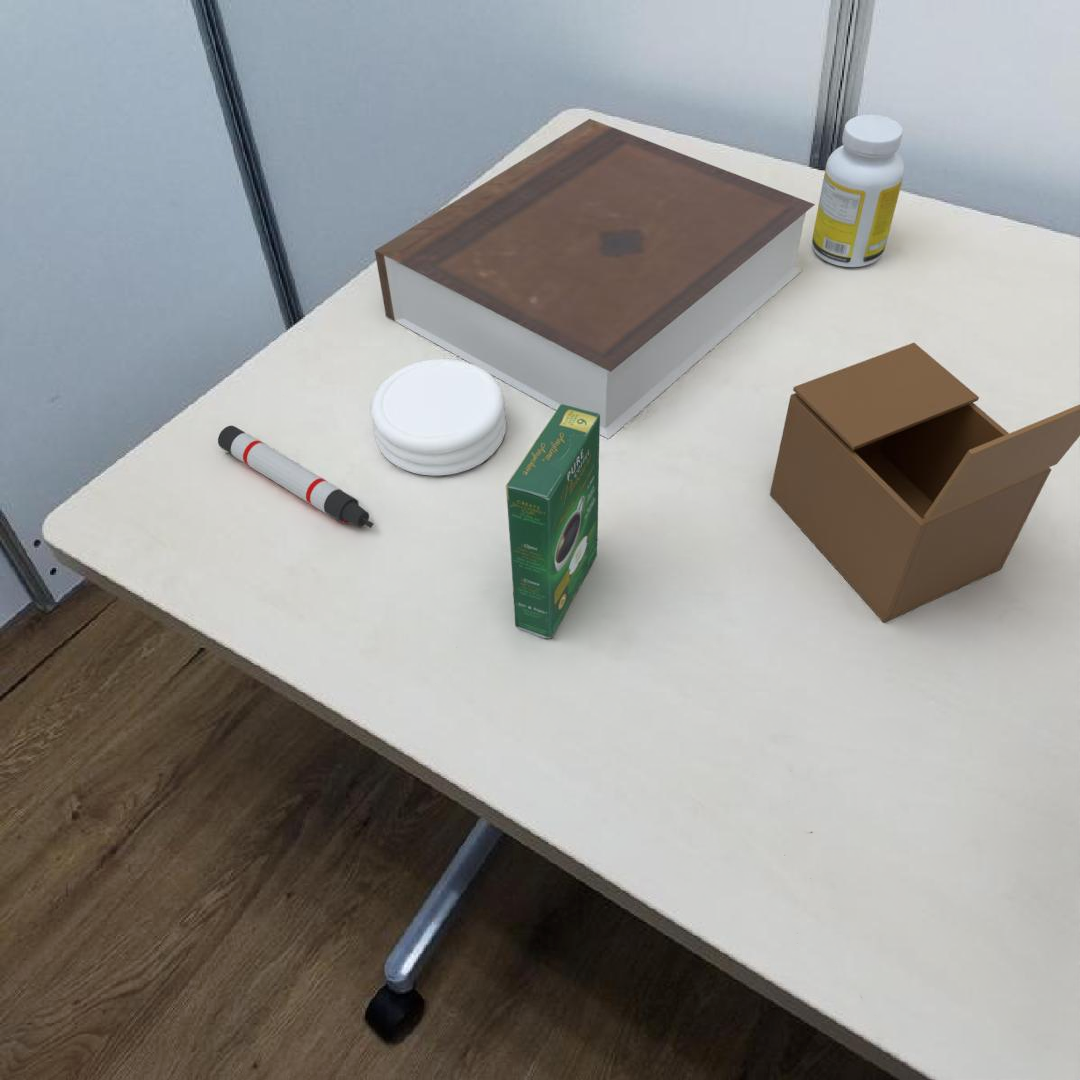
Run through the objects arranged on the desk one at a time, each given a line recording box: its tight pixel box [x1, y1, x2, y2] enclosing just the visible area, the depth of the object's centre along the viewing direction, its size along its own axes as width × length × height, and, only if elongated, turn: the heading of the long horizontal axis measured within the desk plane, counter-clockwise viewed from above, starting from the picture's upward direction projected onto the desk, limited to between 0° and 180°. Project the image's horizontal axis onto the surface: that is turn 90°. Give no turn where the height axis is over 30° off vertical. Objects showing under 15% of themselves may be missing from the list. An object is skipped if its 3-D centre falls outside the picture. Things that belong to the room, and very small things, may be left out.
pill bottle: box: [811, 114, 906, 268], centre depth 88 cm, size 6×6×12 cm
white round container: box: [369, 358, 507, 476], centre depth 76 cm, size 10×10×4 cm
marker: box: [217, 425, 374, 529], centre depth 74 cm, size 15×2×2 cm, turn 52°
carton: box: [769, 342, 1052, 623], centre depth 66 cm, size 13×10×10 cm
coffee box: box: [505, 404, 600, 639], centre depth 63 cm, size 8×3×13 cm, turn 155°
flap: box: [924, 404, 1080, 520], centre depth 56 cm, size 6×10×1 cm
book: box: [374, 118, 816, 440], centre depth 87 cm, size 24×28×7 cm
